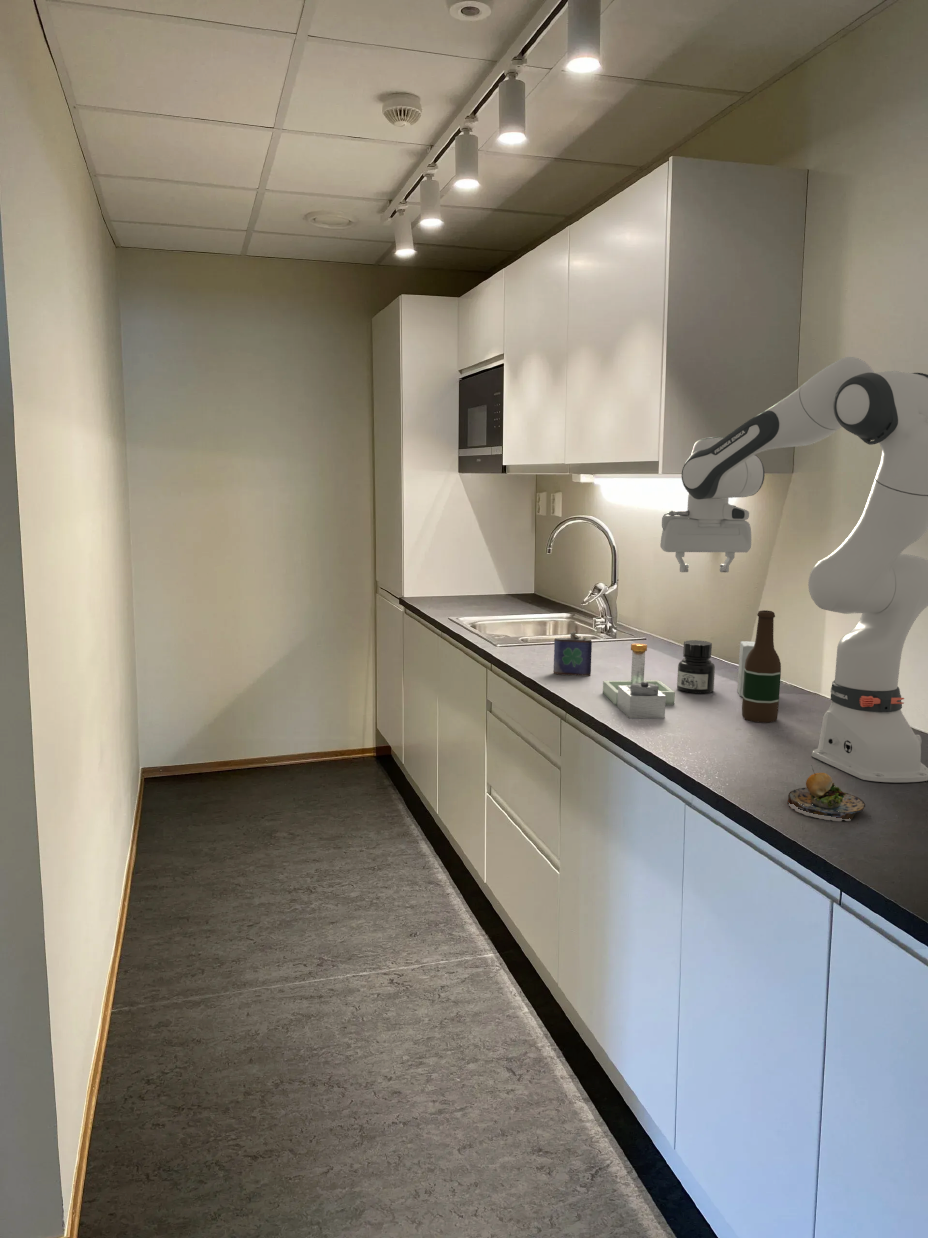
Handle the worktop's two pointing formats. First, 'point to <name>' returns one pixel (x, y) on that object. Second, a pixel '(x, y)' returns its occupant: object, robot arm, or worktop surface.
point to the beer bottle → (762, 674)
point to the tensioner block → (641, 701)
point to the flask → (572, 655)
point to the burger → (825, 798)
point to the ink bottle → (696, 668)
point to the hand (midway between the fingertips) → (704, 572)
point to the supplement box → (743, 663)
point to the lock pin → (638, 662)
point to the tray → (612, 686)
